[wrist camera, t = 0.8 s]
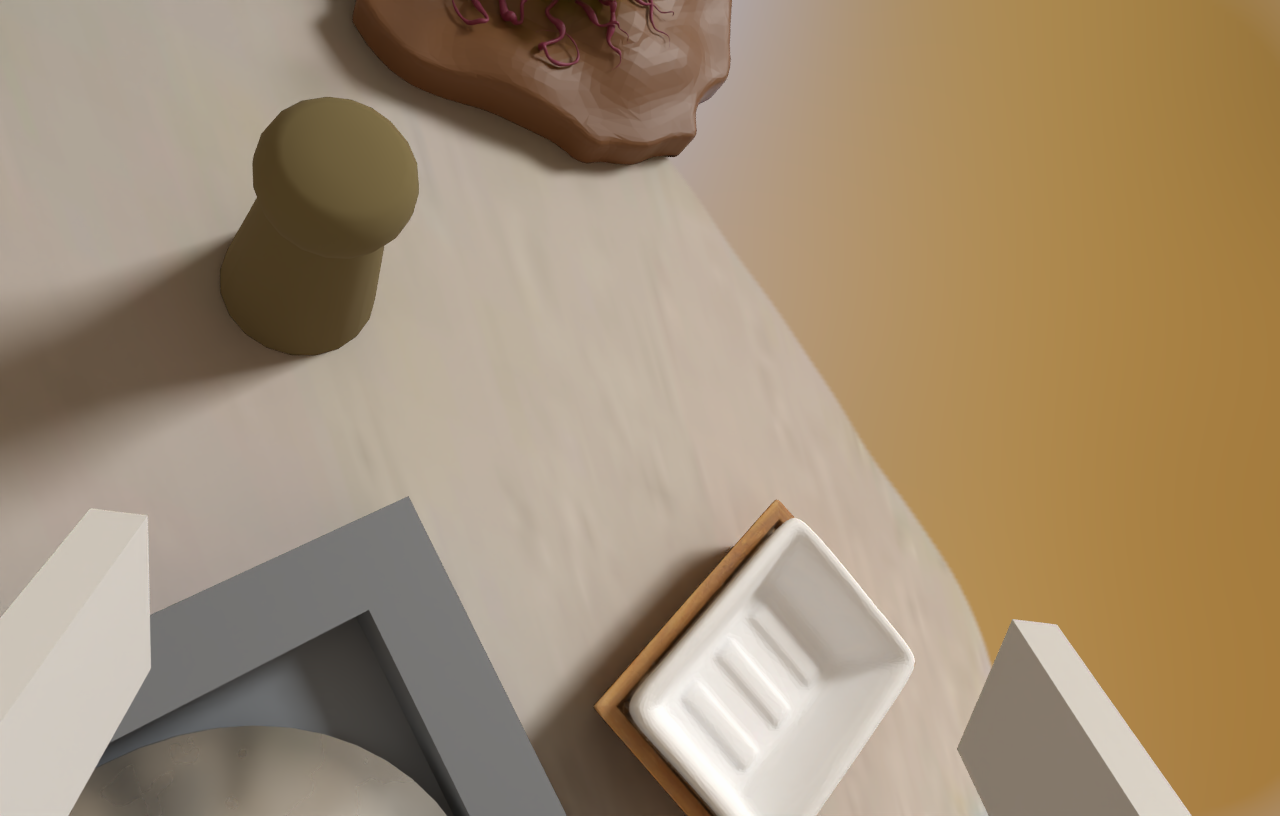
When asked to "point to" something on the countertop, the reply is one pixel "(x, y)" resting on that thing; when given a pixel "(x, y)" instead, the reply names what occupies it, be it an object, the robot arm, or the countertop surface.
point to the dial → (252, 778)
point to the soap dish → (761, 679)
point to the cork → (318, 225)
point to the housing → (347, 666)
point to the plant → (564, 65)
